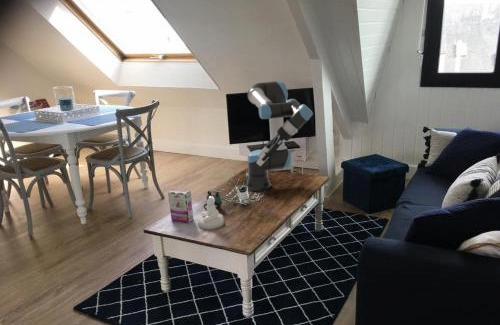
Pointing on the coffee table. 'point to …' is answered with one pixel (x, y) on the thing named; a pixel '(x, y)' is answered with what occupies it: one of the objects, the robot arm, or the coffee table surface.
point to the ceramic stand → (211, 222)
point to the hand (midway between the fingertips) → (258, 160)
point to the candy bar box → (180, 205)
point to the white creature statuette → (210, 210)
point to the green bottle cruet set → (217, 200)
